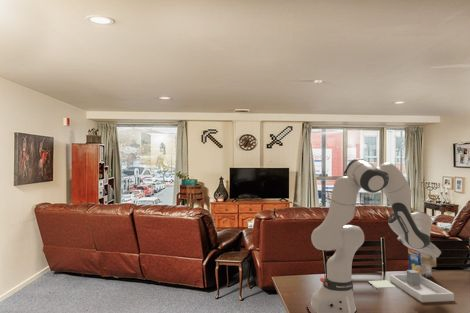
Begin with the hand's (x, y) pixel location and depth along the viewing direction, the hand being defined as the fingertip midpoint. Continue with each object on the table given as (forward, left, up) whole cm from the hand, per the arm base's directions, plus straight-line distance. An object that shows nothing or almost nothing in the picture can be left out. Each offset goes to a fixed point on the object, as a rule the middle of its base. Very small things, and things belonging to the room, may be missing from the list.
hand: (429, 255), depth 163 cm
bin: (-2, +6, -20) cm, 21 cm away
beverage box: (+14, +31, -21) cm, 39 cm away
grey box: (0, +15, -19) cm, 24 cm away
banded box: (-1, 0, -5) cm, 5 cm away
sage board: (-17, +17, -20) cm, 32 cm away
